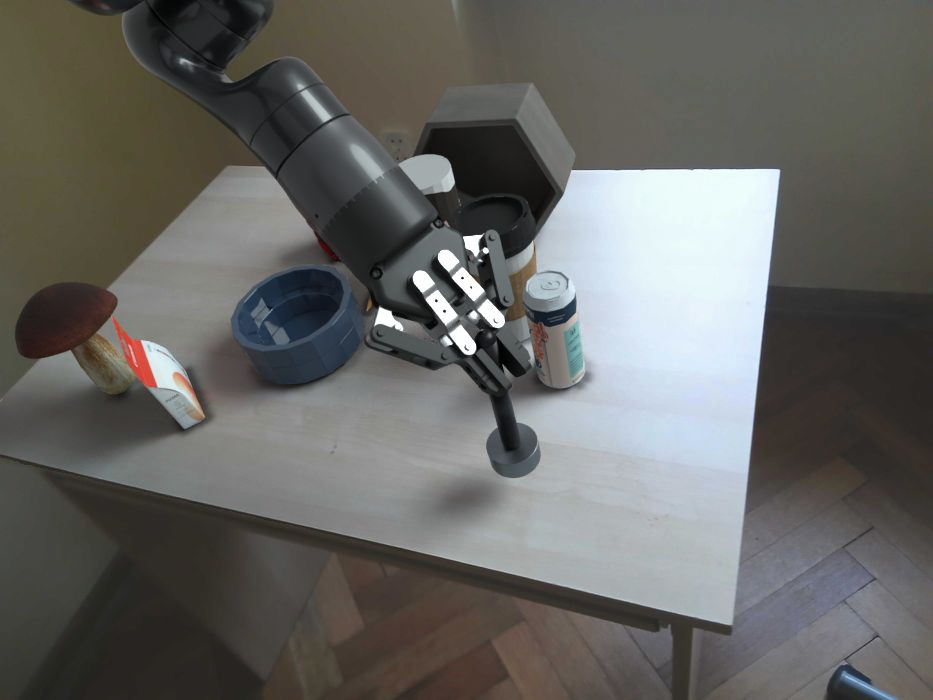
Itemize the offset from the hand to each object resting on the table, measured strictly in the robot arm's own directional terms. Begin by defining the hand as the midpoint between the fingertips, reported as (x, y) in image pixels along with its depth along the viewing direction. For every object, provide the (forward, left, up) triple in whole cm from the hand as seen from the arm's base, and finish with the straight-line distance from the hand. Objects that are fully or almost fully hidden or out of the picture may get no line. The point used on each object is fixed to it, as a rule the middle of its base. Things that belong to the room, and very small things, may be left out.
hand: (514, 381), depth 52 cm
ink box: (-32, +28, -15) cm, 45 cm away
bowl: (-17, +30, -15) cm, 37 cm away
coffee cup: (+5, +21, -15) cm, 26 cm away
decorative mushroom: (-39, +34, -15) cm, 54 cm away
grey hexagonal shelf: (+10, +38, -15) cm, 42 cm away
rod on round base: (-1, +2, -11) cm, 11 cm away
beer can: (+7, +12, -15) cm, 20 cm away
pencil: (-5, +39, -15) cm, 42 cm away
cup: (+1, +32, -15) cm, 35 cm away
